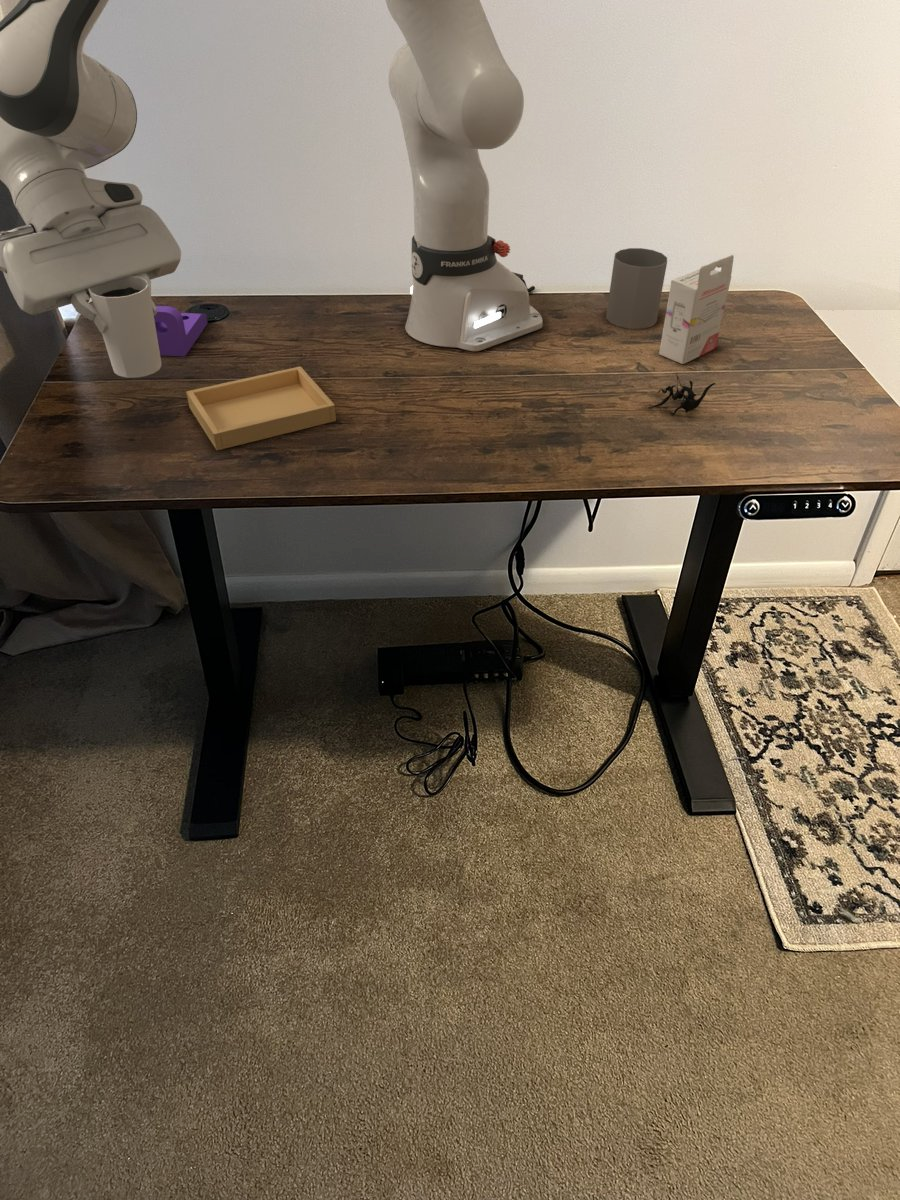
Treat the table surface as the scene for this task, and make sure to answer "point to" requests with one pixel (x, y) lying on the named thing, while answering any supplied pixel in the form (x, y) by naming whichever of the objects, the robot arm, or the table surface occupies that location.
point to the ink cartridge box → (695, 311)
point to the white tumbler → (128, 326)
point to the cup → (636, 288)
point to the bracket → (177, 330)
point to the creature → (689, 401)
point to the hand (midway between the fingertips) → (130, 322)
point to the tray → (260, 407)
